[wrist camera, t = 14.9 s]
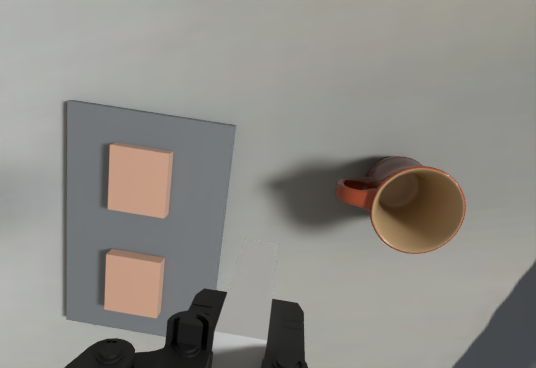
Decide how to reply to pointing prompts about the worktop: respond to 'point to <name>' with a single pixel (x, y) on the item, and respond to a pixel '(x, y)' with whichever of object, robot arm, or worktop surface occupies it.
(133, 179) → the tile
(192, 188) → the mat
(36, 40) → the worktop surface
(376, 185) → the mug
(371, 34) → the worktop surface
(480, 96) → the worktop surface
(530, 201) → the worktop surface
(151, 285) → the tile
